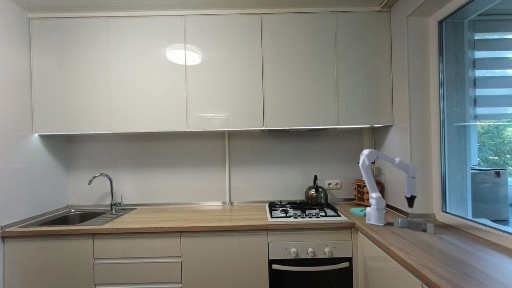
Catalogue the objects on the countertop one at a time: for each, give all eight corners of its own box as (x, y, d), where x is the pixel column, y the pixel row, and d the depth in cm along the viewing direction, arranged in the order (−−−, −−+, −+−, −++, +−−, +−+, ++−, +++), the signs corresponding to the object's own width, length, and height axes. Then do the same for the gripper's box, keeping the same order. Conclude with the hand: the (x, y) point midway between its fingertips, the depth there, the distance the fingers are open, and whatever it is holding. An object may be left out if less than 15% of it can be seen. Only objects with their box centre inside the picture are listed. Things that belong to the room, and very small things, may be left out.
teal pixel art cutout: (386, 213, 186) (356, 209, 199) (386, 210, 186) (356, 206, 199) (377, 219, 171) (346, 214, 184) (377, 215, 171) (346, 211, 184)
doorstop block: (409, 230, 146) (409, 221, 147) (410, 228, 151) (410, 219, 151) (422, 232, 143) (422, 222, 143) (422, 229, 147) (422, 220, 147)
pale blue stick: (401, 227, 151) (401, 219, 151) (400, 226, 152) (400, 218, 152) (423, 227, 150) (423, 219, 151) (422, 226, 151) (422, 219, 152)
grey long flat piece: (393, 226, 153) (393, 218, 153) (394, 226, 154) (394, 218, 154) (433, 233, 140) (433, 224, 140) (433, 233, 141) (433, 224, 141)
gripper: (415, 186, 151) (415, 211, 150) (421, 184, 162) (421, 206, 161) (401, 185, 155) (401, 209, 155) (407, 183, 166) (407, 205, 166)
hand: (410, 207), depth 159 cm, fingers closed
